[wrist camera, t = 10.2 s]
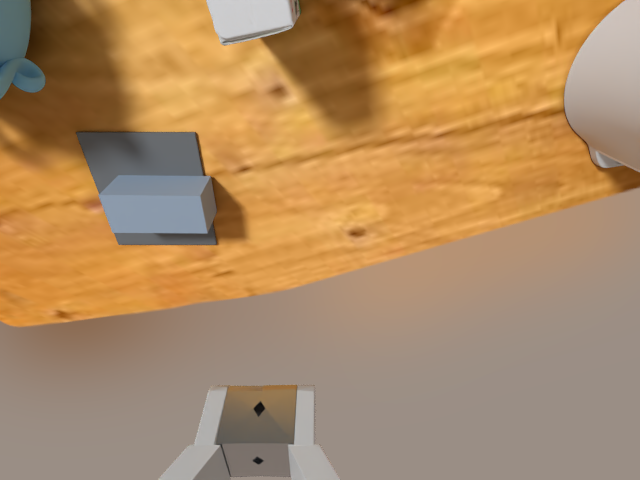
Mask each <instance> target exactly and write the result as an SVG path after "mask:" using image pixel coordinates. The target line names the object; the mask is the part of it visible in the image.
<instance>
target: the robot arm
mask: <svg viewBox="0 0 640 480" xmlns="http://www.w3.org/2000/svg"><path fill="white" fill-rule="evenodd" d="M564 107H565V113H566V116H567V119H568V122H569V124H570V125H571V127H572V128H573V130H574V131H575V132H576V133H577V134H578V135H579V136H580V137H581V138H582V139H584V140H585V142H586V143H587V144H588V146H589V151H590V155H591V158H592V161H593V162H594V163H595V164H596V165H598V166H600V167H603V168H611V167H617V166H623V165H625V166H627V167H629V168H631V169H633V170H636V171H638V172H640V0H625V1H624V2H622V3H621V4H620V5H619V6H617V7H616V8H615V9H614V10H613V11H611V12H610V13H609V14H608V15H607V16H606V17H605V18H604V19H603V20H602V21H601V22H600V23H599V24H598V26H597V27H596V28H595V29H594V30H593V31H592V33H591V34H590V35H589V37H588V38H587V39H586V41H585V42H584V44H583V45H582V47H581V49H580V50H579V52H578V54H577V56H576V58H575V60H574V62H573V64H572V66H571V69H570V71H569V74H568V78H567V81H566V86H565V93H564ZM247 476H280V477H291V479H292V480H341V479H340V478H339V476H338V474H337V472H336V471H335V469H334V467H333V466H332V464H331V462H330V461H329V459H328V457H327V455H326V454H325V452H324V451H323V449H322V447H321V445H320V444H319V445H318V444H315V385H298V387H297V385H269V386H268V385H267V386H230V385H228V386H227V385H224V386H211V388H210V390H209V391H208V395H207V399H206V403H205V406H204V410H203V413H202V418H201V421H200V425H199V429H198V432H197V436H196V440H195V443H194V445H188V446H187V447H186V449H185V450H184V451H183V452H182V453H181V454H180V455H179V456H178V458H177V459H176V460H175V461H174V462H173V463H172V464H171V466H170V467H169V468H168V469H167V470H166V471H165V472H164V473H163V474H162V476H161V477H160V478H159V479H158V480H230V477H247Z"/></svg>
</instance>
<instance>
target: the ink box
mask: <svg viewBox="0 0 640 480" xmlns="http://www.w3.org/2000/svg"><path fill="white" fill-rule="evenodd" d="M206 1H207V5H208V8H209V11H210V14H211V16H212V20H213V24H214V28H215V31H216V33H217V34H218V37H219V40H220V43H221V44H222V45H230V44H234V43H239V42H244V41H248V40H253V39H257V38H261V37H265V36H270V35H273V34H277V33H280V32H283V31H286V30H289V29H291V28H293V26H294V24H295V22H296V21H297V19H298V17H299V16H300V14H301V9H300V4H299V0H206Z"/></svg>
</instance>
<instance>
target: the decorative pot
mask: <svg viewBox="0 0 640 480" xmlns="http://www.w3.org/2000/svg"><path fill="white" fill-rule="evenodd" d="M30 29H31V2H30V0H0V99H1V98H2V97H3V96H4V95H5V93H6V92H7V90H8V89H9V87H10V85H11V83H13V84H14V85H15V86H16V87H18V88H19V89H21V90H23V91H26V92H31V93H34V92H38V91H40V90H41V89H42V88H43V87H44V86H45V83H46V80H45V75H44V73H43V72H42V71H41V69H40V68H39V67H38V66H37V65H36V64H35V63H33V62H32V61H30V60H28V59H26V58H24V57H25V55H26V52H27V48H28V44H29V37H30Z"/></svg>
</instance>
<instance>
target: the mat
mask: <svg viewBox="0 0 640 480" xmlns="http://www.w3.org/2000/svg"><path fill="white" fill-rule="evenodd" d="M76 134H77V137H78V140H79V142H80V145H81V148H82V150H83V153H84V155H85V158H86V161H87V163H88V166H89V168H90V171H91V174H92V176H93V179H94V181H95V184H96V187H97V189H98V192H99V194H100V193H101V192H102V191H103V190H104V189H105V188H106V187H107V186H108V185H109V184H110V183H111V182H112V181H113V180H114V179H115V178H116V177H117V176H118V175H148V176H204V174H203V169H202V164H201V158H200V153H199V148H198V143H197V138H196V132H76ZM114 234H115V236H116V239H117V242H118V244H119V245H216V244H217V241H216V236H215V231H214V226H213V222H212V224H211V227H210V229H209V231H208V233H114Z"/></svg>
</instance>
